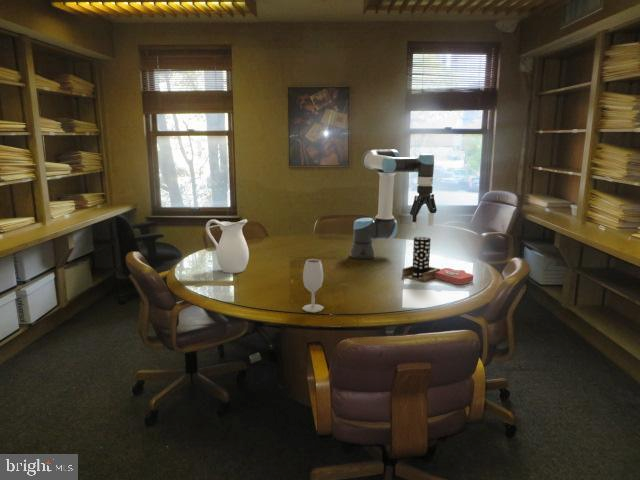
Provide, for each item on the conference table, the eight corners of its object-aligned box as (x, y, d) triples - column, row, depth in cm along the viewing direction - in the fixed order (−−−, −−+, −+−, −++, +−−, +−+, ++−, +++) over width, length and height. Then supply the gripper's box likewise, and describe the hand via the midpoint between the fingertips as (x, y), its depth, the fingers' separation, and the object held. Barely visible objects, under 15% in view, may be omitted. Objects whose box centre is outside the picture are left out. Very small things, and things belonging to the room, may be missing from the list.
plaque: (478, 273, 241) (460, 278, 232) (478, 280, 241) (459, 285, 233) (450, 265, 255) (431, 270, 246) (449, 272, 255) (431, 277, 247)
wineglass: (310, 304, 205) (310, 257, 201) (327, 308, 200) (328, 260, 196) (298, 310, 198) (298, 261, 194) (315, 314, 193) (315, 264, 189)
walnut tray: (402, 276, 248) (402, 268, 247) (417, 272, 258) (418, 264, 257) (423, 282, 239) (424, 273, 238) (439, 277, 248) (439, 268, 247)
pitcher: (254, 268, 263) (253, 218, 257) (239, 276, 247) (238, 223, 242) (216, 264, 270) (214, 216, 265) (200, 271, 255) (197, 220, 249)
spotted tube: (428, 278, 243) (430, 240, 239) (412, 277, 245) (413, 239, 241) (428, 274, 251) (430, 237, 247) (412, 273, 253) (414, 236, 249)
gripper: (416, 187, 227) (414, 230, 232) (445, 184, 244) (442, 225, 248) (403, 186, 233) (402, 228, 237) (432, 183, 249) (430, 223, 254)
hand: (422, 227), depth 243 cm, fingers open, 13 cm apart
